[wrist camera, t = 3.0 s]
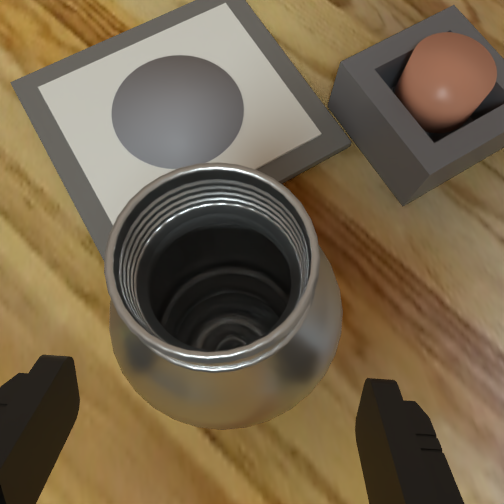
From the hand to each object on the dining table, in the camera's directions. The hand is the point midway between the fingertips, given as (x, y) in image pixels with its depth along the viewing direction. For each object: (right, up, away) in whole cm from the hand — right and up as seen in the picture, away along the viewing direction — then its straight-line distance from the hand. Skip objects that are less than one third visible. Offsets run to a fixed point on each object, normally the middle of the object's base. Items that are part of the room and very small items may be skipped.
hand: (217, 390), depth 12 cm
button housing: (+13, +13, +19) cm, 26 cm away
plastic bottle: (0, -2, +15) cm, 15 cm away
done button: (+13, +14, +16) cm, 25 cm away
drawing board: (-4, +13, +19) cm, 24 cm away
